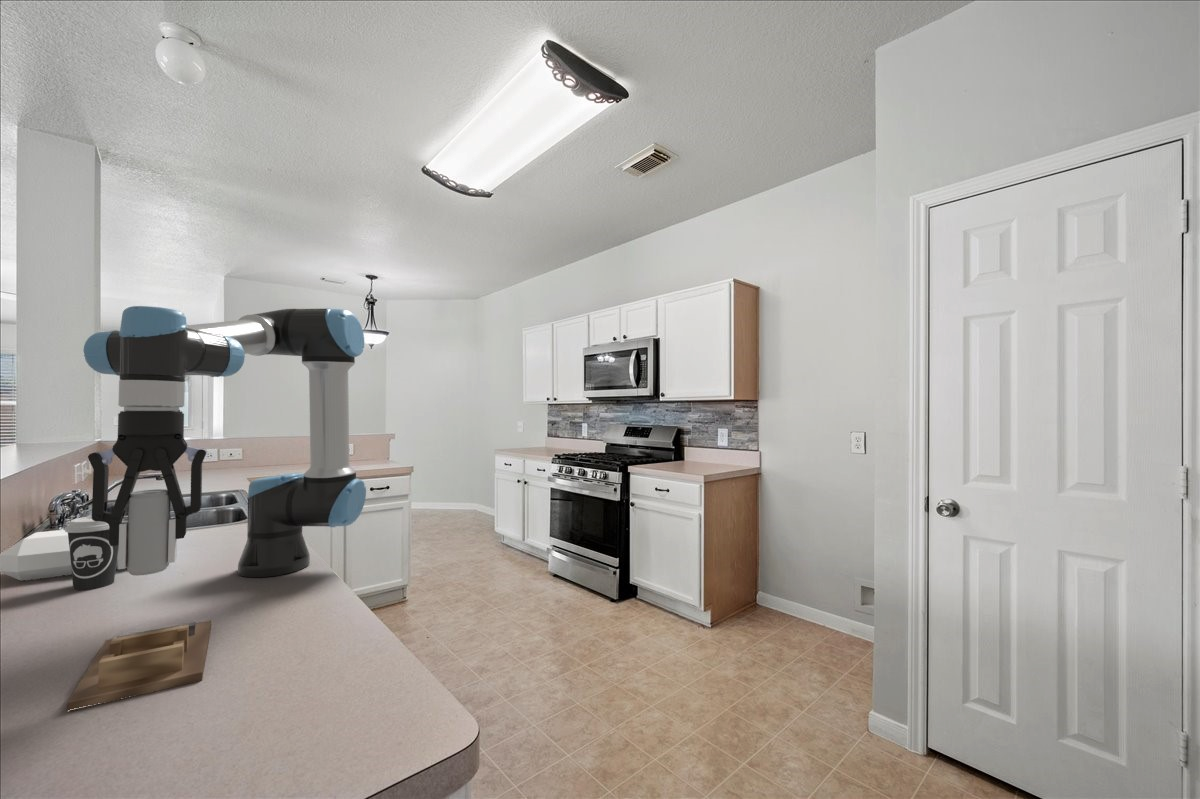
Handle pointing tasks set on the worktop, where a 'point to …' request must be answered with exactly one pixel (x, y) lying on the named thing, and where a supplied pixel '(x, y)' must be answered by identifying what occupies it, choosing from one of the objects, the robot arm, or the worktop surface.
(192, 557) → the worktop surface
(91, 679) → the board
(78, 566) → the coffee cup
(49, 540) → the crystal
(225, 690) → the worktop surface
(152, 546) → the beverage can
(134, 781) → the worktop surface
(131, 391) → the robot arm
